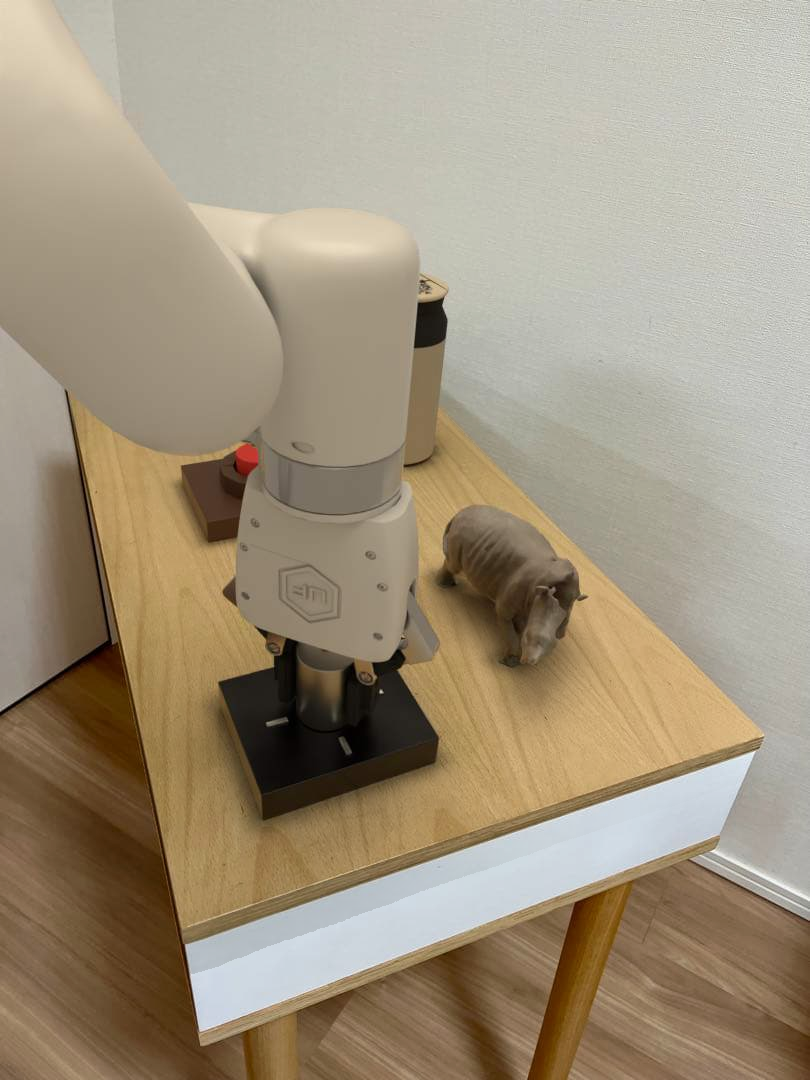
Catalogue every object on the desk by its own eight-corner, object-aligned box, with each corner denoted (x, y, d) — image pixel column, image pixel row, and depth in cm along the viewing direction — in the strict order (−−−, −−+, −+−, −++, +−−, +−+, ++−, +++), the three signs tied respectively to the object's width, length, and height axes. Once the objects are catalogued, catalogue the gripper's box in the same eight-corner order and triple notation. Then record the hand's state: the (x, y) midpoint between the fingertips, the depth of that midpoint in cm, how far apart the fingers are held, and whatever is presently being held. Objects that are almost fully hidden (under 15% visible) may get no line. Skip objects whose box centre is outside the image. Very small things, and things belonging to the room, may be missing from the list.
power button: (242, 481, 74) (242, 465, 73) (232, 462, 77) (231, 445, 76) (280, 474, 75) (280, 458, 74) (269, 455, 78) (268, 439, 77)
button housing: (208, 542, 72) (205, 505, 70) (182, 484, 79) (178, 448, 77) (335, 517, 77) (336, 481, 75) (299, 464, 84) (299, 430, 82)
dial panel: (262, 821, 50) (261, 794, 49) (219, 706, 57) (217, 679, 56) (435, 762, 55) (439, 736, 53) (376, 662, 62) (378, 637, 60)
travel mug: (376, 472, 84) (387, 301, 73) (349, 435, 90) (355, 272, 79) (445, 460, 87) (466, 294, 76) (414, 426, 93) (429, 267, 82)
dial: (365, 721, 54) (369, 658, 50) (307, 738, 52) (308, 675, 49) (343, 680, 57) (345, 617, 53) (288, 695, 55) (287, 632, 52)
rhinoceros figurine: (497, 521, 74) (562, 454, 60) (550, 666, 71) (632, 632, 57) (417, 542, 72) (465, 478, 58) (469, 692, 68) (533, 664, 55)
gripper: (154, 456, 42) (184, 700, 53) (464, 540, 38) (428, 784, 49) (228, 398, 48) (241, 628, 59) (503, 465, 44) (463, 698, 55)
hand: (326, 697), depth 54 cm, fingers closed on dial, 4 cm apart
